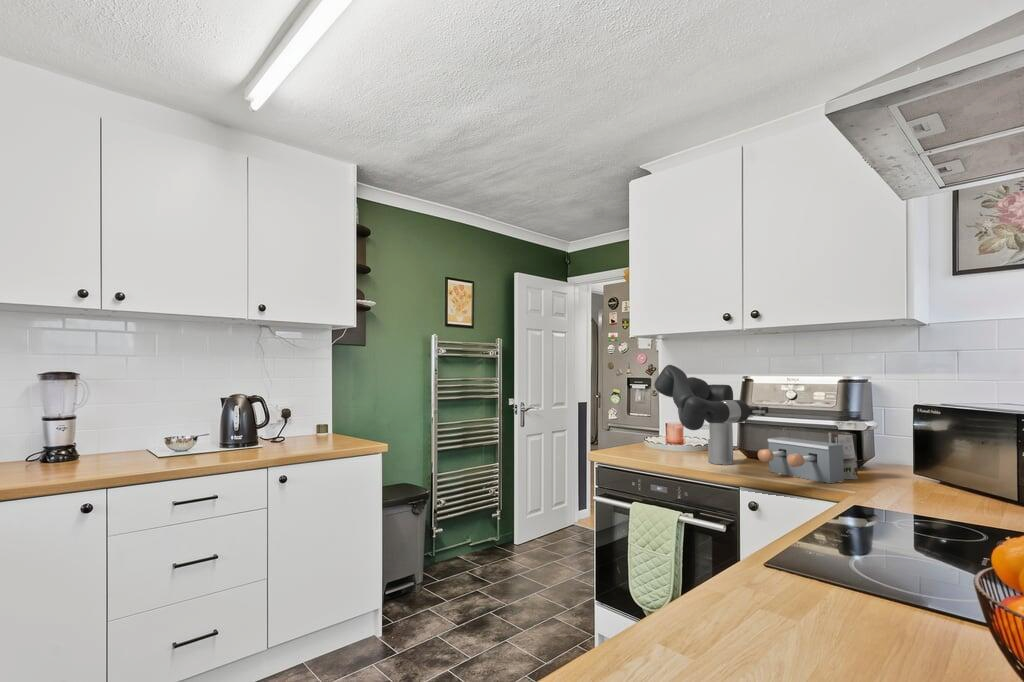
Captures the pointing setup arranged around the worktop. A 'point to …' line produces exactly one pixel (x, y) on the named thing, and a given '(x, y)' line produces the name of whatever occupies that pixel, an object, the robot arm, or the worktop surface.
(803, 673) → the worktop surface
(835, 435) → the coffee box
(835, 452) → the control box
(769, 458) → the knob
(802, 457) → the knob
